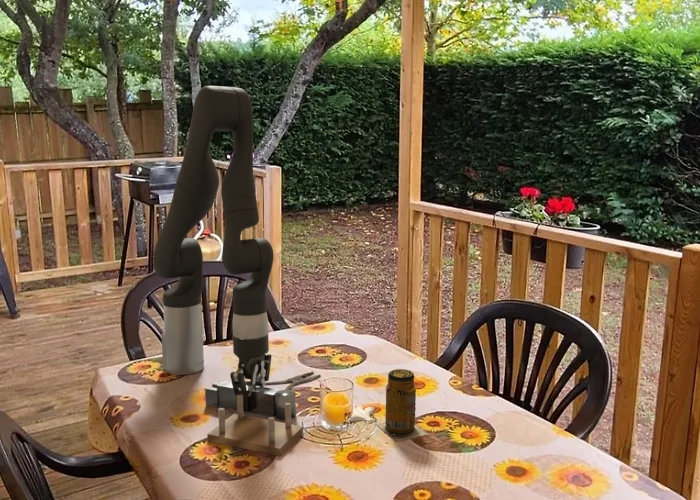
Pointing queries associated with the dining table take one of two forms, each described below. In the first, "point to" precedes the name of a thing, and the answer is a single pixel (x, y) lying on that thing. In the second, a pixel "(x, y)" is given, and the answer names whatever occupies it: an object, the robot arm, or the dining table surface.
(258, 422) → the rack
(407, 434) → the condiment
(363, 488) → the dining table surface
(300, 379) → the pliers
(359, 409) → the acanthus leaf ornament
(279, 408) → the grey metal bar
